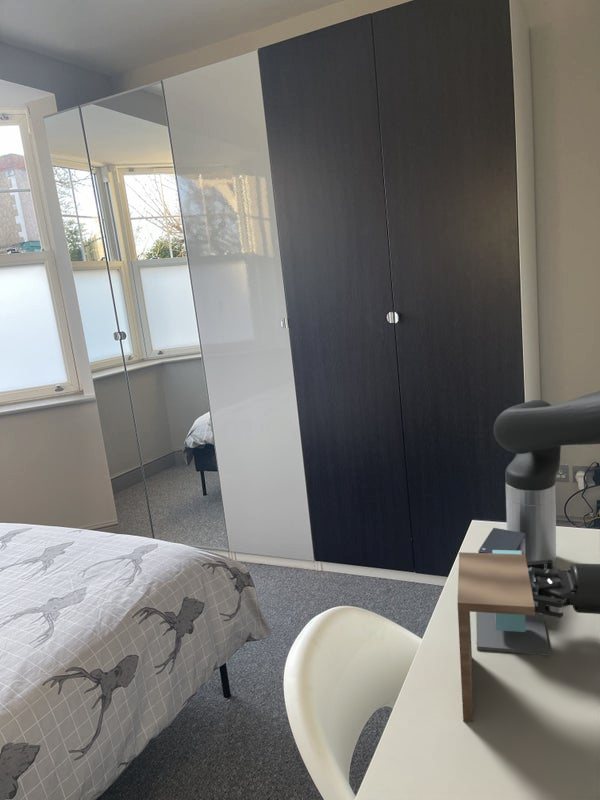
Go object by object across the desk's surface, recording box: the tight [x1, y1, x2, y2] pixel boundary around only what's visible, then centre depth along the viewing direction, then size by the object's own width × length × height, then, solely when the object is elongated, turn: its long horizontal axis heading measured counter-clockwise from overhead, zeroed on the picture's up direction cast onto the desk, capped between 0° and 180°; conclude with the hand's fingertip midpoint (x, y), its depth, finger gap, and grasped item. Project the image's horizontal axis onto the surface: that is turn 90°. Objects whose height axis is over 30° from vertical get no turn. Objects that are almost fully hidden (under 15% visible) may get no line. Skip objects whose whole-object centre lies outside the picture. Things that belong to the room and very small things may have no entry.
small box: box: [477, 527, 525, 554], centre depth 112 cm, size 11×6×10 cm, turn 148°
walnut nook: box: [457, 551, 536, 723], centre depth 86 cm, size 14×10×18 cm
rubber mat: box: [475, 612, 551, 656], centre depth 101 cm, size 10×11×1 cm
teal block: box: [492, 550, 525, 632], centre depth 99 cm, size 4×4×12 cm
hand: (491, 583), depth 99 cm, fingers closed on teal block, 4 cm apart
